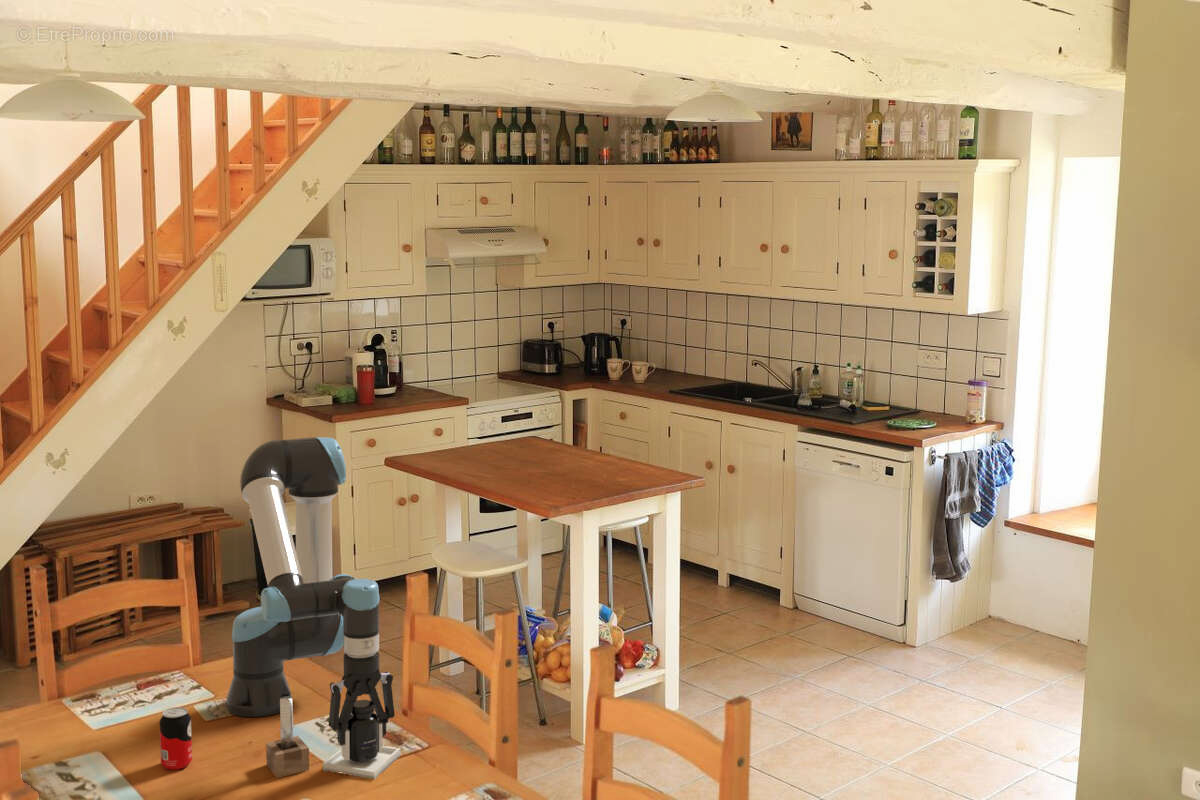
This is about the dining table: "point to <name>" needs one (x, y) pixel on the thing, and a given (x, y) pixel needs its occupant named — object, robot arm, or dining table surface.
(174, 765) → the beverage can
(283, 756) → the brown peg holder block
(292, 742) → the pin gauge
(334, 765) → the tray
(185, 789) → the dining table surface
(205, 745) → the dining table surface
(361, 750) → the supplement bottle
